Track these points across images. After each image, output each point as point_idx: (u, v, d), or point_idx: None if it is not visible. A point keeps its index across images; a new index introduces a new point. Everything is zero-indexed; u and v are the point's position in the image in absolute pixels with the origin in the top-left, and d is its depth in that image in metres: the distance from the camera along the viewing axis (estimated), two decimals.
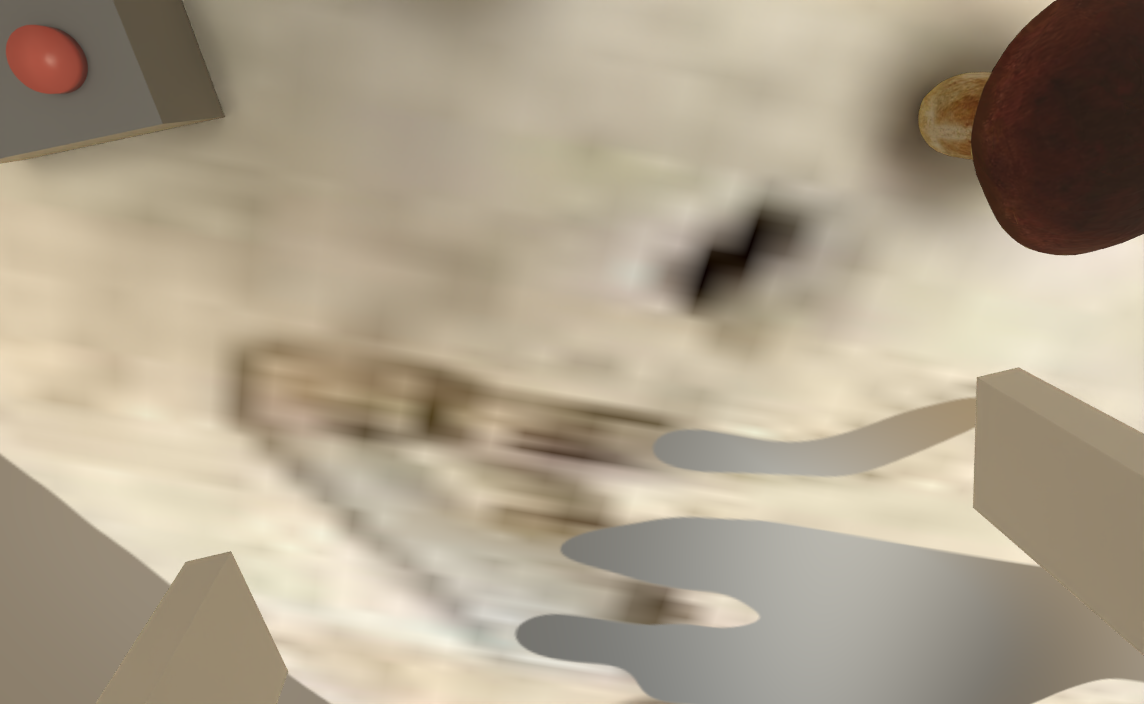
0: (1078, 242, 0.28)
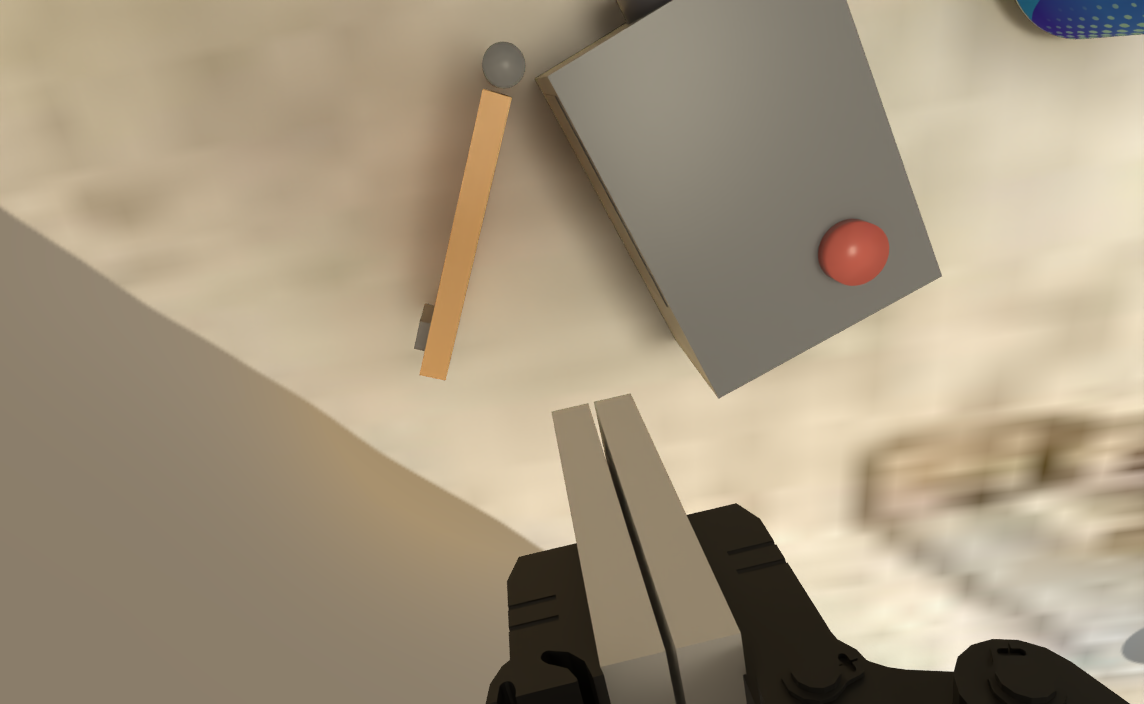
0: None
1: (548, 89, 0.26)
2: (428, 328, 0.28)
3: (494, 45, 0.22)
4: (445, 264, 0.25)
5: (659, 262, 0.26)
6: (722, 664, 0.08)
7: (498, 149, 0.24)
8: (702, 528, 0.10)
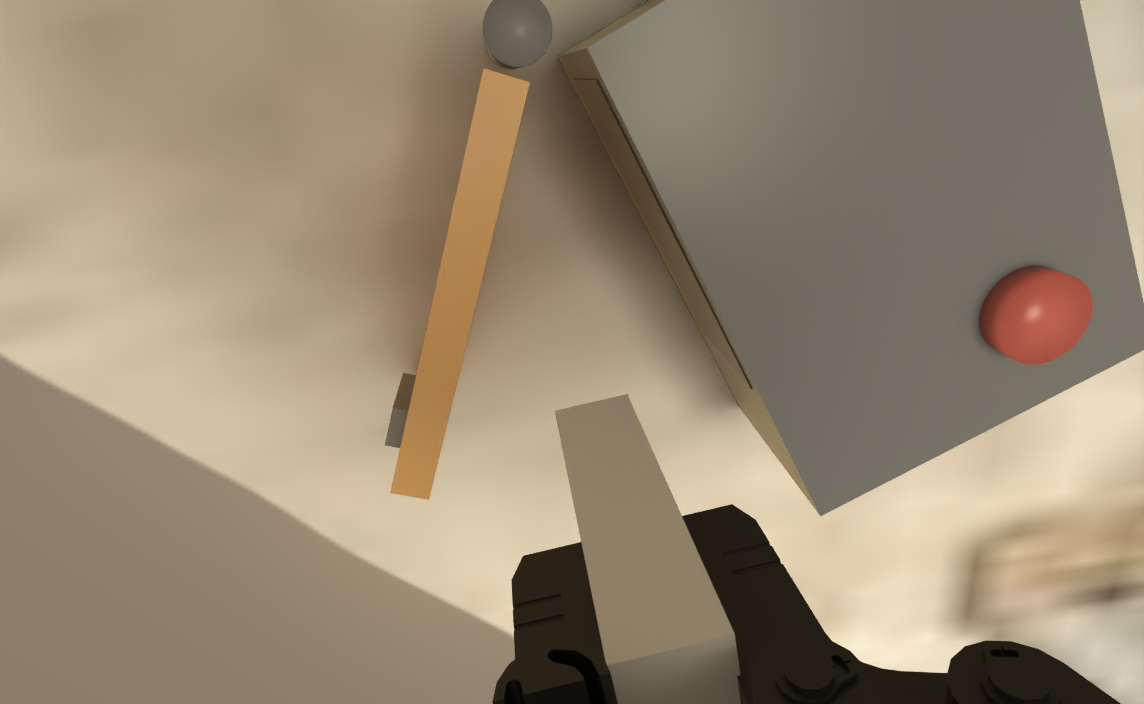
0: None
1: (582, 70, 0.17)
2: (405, 417, 0.19)
3: None
4: (426, 337, 0.16)
5: (747, 330, 0.17)
6: (716, 665, 0.08)
7: (508, 163, 0.15)
8: (698, 529, 0.10)
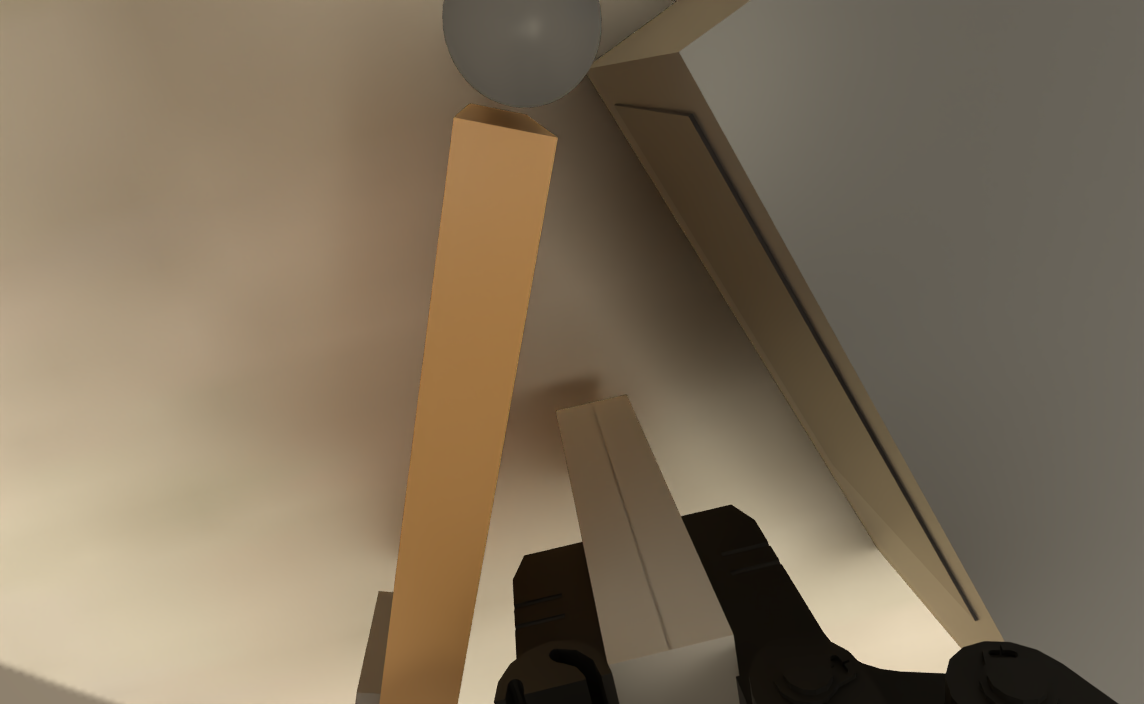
0: None
1: (645, 94, 0.09)
2: None
3: None
4: (392, 633, 0.09)
5: (993, 552, 0.09)
6: (715, 665, 0.08)
7: (523, 308, 0.07)
8: (697, 529, 0.10)
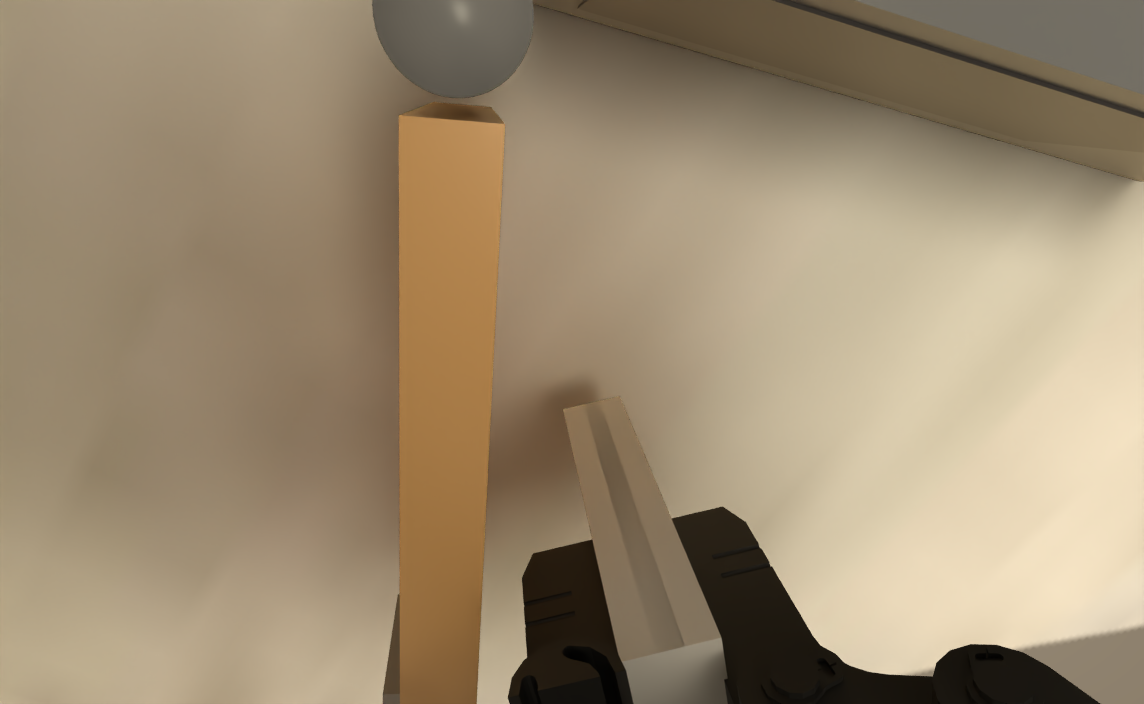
0: None
1: None
2: None
3: None
4: (403, 631, 0.09)
5: None
6: (703, 668, 0.08)
7: (492, 298, 0.07)
8: (688, 531, 0.10)
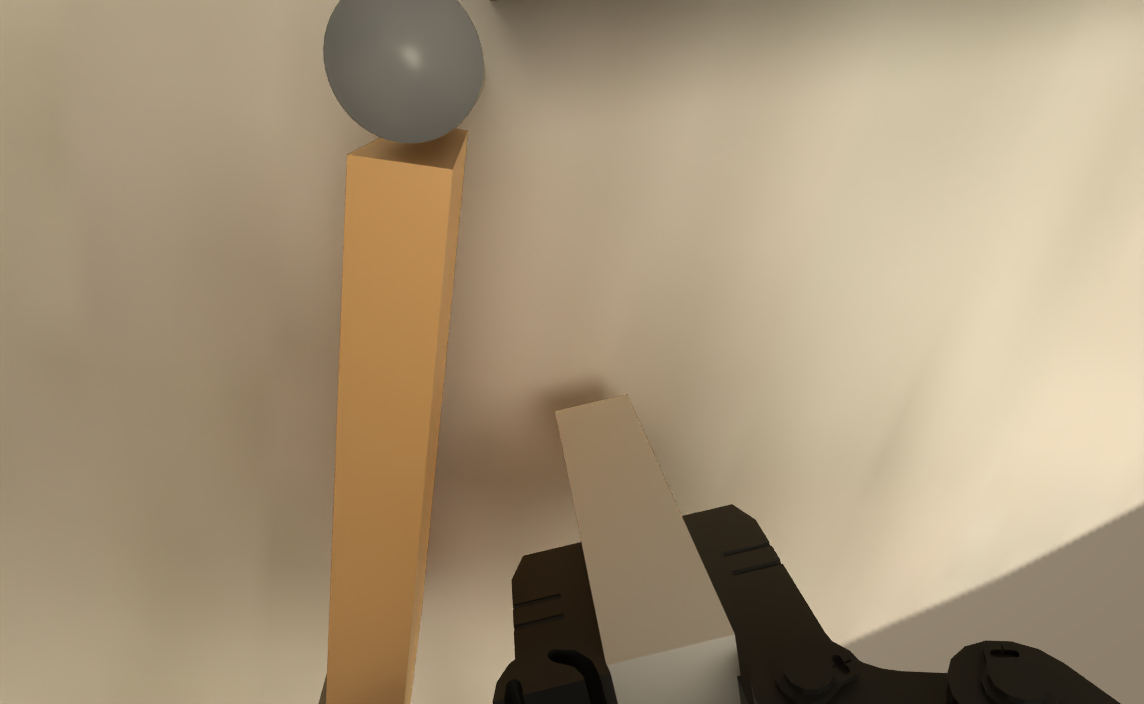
0: None
1: None
2: None
3: None
4: (332, 653, 0.09)
5: None
6: (716, 665, 0.08)
7: (433, 336, 0.07)
8: (698, 529, 0.10)
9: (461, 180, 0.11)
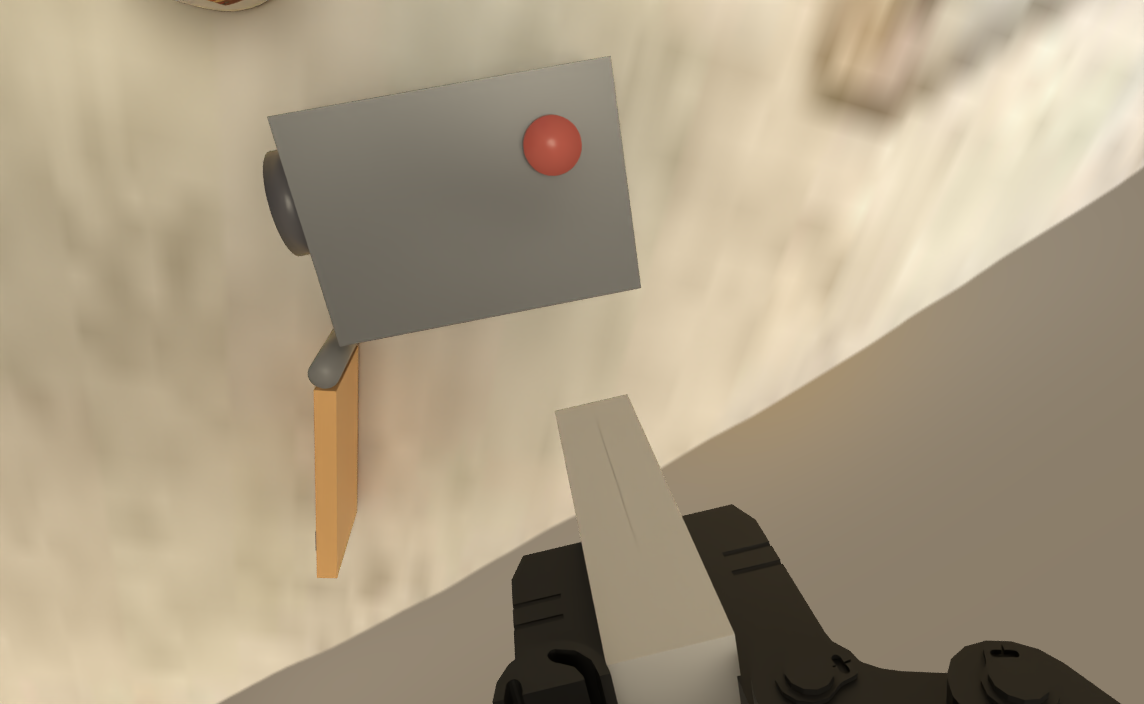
0: None
1: None
2: None
3: (314, 363, 0.31)
4: (316, 503, 0.34)
5: (504, 305, 0.31)
6: (716, 665, 0.08)
7: (335, 425, 0.32)
8: (698, 529, 0.10)
9: (353, 368, 0.36)
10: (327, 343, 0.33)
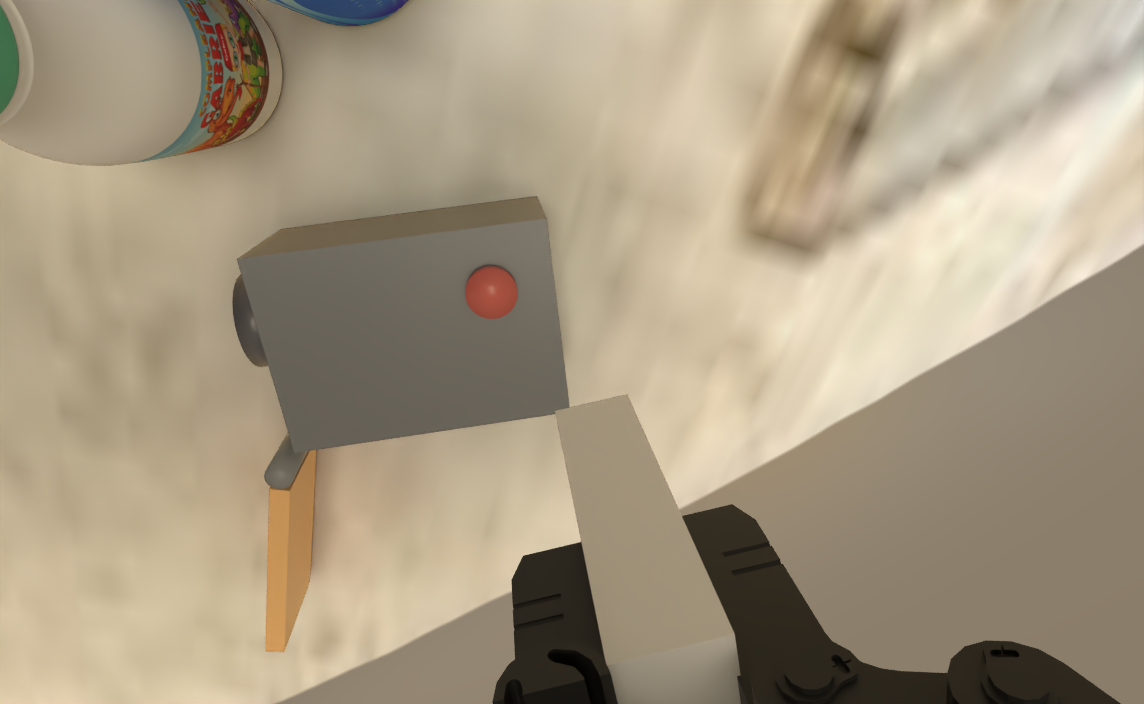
0: None
1: None
2: None
3: (270, 467, 0.34)
4: (268, 587, 0.37)
5: (445, 422, 0.35)
6: (716, 665, 0.08)
7: (287, 519, 0.36)
8: (698, 529, 0.10)
9: (310, 458, 0.40)
10: (285, 443, 0.37)
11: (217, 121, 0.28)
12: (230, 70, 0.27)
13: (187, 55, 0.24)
